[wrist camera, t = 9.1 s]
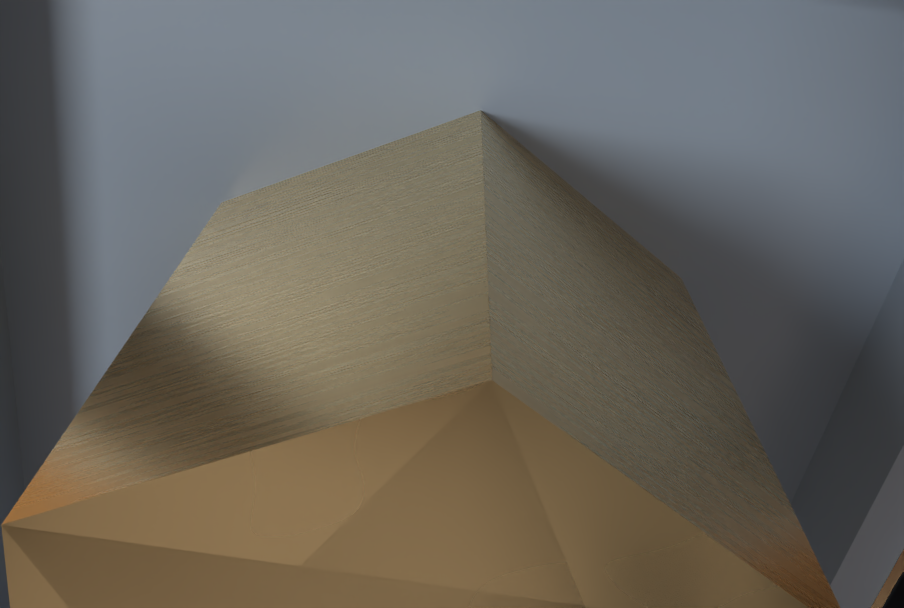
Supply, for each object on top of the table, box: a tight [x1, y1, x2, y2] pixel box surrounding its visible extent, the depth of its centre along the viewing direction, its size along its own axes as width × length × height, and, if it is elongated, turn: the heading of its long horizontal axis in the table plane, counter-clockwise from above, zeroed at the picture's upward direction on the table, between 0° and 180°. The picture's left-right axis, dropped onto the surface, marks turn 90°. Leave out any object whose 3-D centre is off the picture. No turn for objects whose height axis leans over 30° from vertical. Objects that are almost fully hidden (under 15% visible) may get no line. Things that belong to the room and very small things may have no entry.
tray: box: [0, 0, 904, 608], centre depth 10 cm, size 11×11×2 cm
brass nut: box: [1, 110, 840, 608], centre depth 8 cm, size 6×5×5 cm
